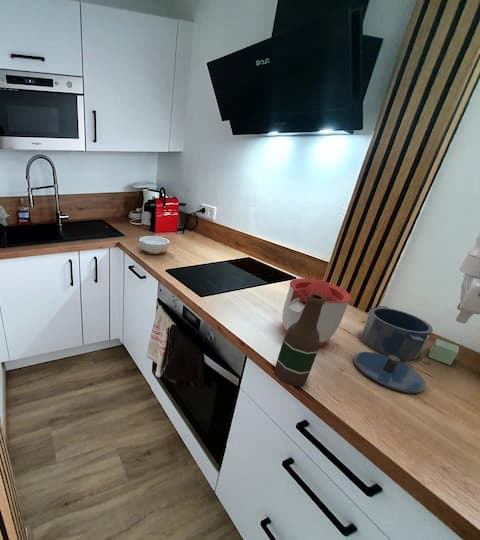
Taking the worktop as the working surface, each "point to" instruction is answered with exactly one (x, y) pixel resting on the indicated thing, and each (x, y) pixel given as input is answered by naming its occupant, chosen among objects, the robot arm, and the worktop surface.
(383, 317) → the pot
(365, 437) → the worktop surface
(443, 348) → the block
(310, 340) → the beer bottle
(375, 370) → the pot lid
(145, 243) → the cereal bowl
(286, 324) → the citrus juicer
